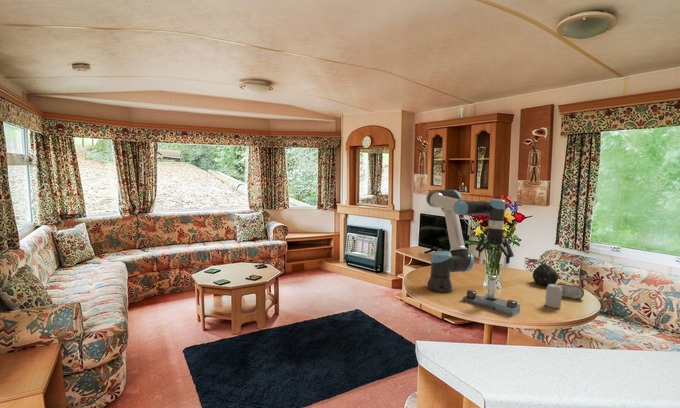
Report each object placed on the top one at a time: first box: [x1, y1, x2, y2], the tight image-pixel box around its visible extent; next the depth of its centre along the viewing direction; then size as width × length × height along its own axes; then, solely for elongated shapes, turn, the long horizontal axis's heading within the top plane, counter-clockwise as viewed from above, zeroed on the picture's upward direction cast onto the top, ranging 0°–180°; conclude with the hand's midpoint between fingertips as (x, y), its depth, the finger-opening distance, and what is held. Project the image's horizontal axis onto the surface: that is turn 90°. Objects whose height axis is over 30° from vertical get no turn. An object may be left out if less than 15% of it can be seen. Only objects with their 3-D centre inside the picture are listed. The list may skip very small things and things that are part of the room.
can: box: [544, 283, 563, 309], centre depth 205 cm, size 8×8×12 cm
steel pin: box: [486, 274, 498, 301], centre depth 203 cm, size 5×5×17 cm
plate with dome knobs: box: [462, 289, 521, 317], centre depth 203 cm, size 28×9×6 cm, turn 41°
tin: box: [556, 281, 585, 300], centre depth 220 cm, size 15×3×8 cm, turn 59°
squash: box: [532, 263, 559, 287], centre depth 243 cm, size 14×15×15 cm
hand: (493, 266), depth 201 cm, fingers open, 13 cm apart
